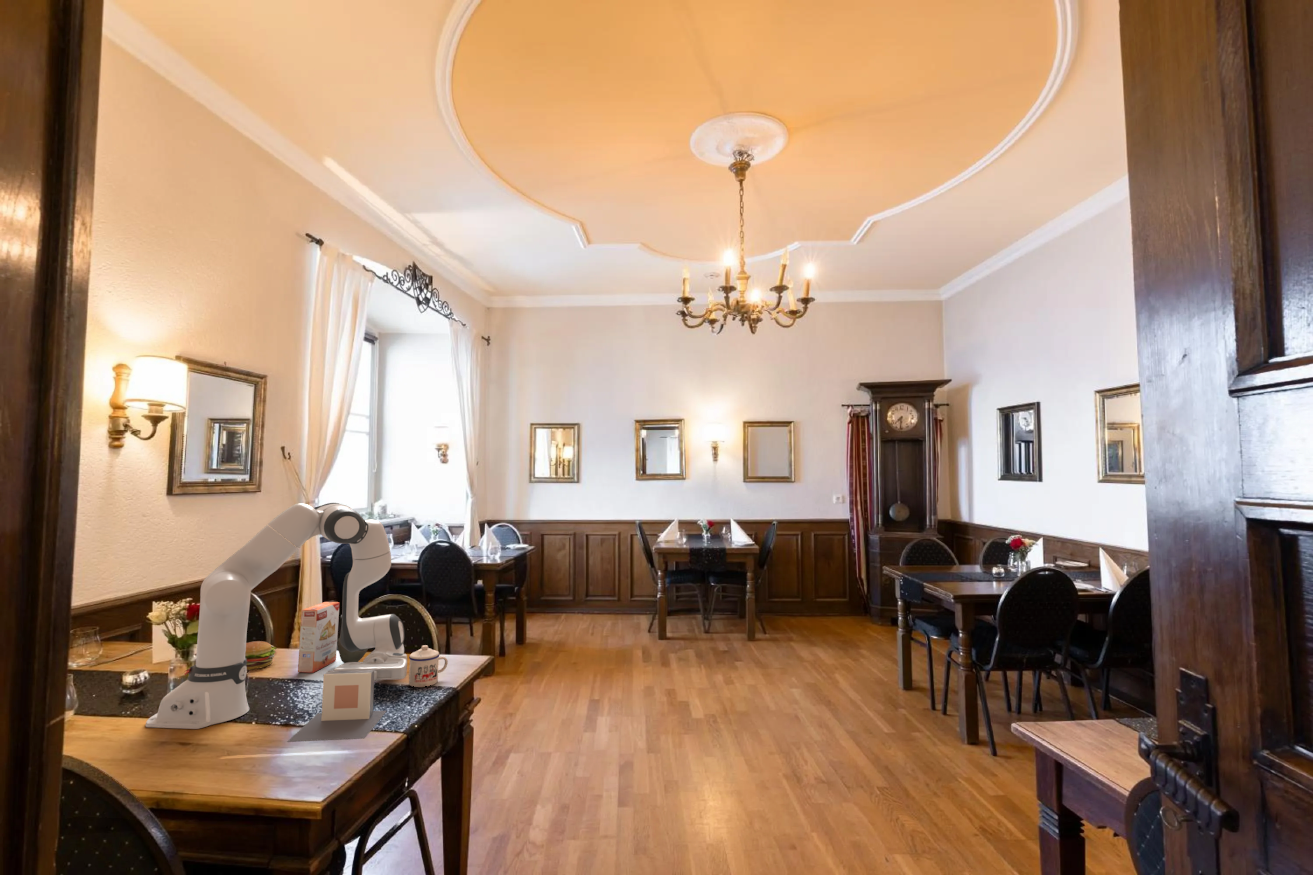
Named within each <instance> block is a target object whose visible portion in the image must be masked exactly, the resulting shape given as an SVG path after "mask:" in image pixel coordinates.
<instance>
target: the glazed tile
mask: <svg viewBox="0 0 1313 875" xmlns="http://www.w3.org/2000/svg"><path fill="white" fill-rule="evenodd" d="M374 671H375V670H349V671H334V670H328V671H327V672H325V673H324V674H323V682H322V683H323V684H322V703H321V706H322V707H321V713H322V719H321V721H329V720H354V719H369V718H370V717H371V716H372V715H373V711H374V710H373V709H374V693H375V692H374V690H375V681H374Z"/></svg>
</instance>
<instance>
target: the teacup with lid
mask: <svg viewBox="0 0 1313 875" xmlns="http://www.w3.org/2000/svg"><path fill="white" fill-rule="evenodd" d="M408 659H409V668H408V670H409V672H408V673H409V674H408V675H409V676H408V685H409V686H411V687H413V686H414V687H413V688H426V687H425V686H427V687H430V685H431V686H433V685H435V684H437V683H438V681H439V674H441V673H443V672H444V671H445V670H446V668H448V663H449V661H448V659H447V658H446V656H440V652H439V651H438V650H435V649H432V648H429V646H428V645H426V644H425V645H421V648H420V649H418V650H416V651H413V652H412V653H411V654H409V658H408ZM439 660H444V665H443V667H441V669H439Z"/></svg>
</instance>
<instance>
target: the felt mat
mask: <svg viewBox="0 0 1313 875" xmlns="http://www.w3.org/2000/svg"><path fill="white" fill-rule="evenodd" d="M386 713H387V710H373V715H372V716H371V717H370V718H369V719H354V720H329V721H321V719H322V712H319V713H317V714H315V716H313V718H311V719H310V720H309V721H308V722H307V723H306V724H304V726H302V727H301V728H300V729H299V731H297V732H296V733H295V734H294V735H292V736H291V738H289V739H288V740H287V741H286V742H287V743H291V742H292V743H293V742H295V743H296V742H312V741H313V742H314V741H335V740H338V741H339V740H357V739H358V740H359V739H360V740H361V739H366V737H367V736H368V735H369V733H370V732H372V730H373V728H374V727H375V726H376V725H377V724H378V723H379V721H380V720H381V719H382V718H383V716H384V715H385V714H386Z"/></svg>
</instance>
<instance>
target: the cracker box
mask: <svg viewBox="0 0 1313 875" xmlns="http://www.w3.org/2000/svg"><path fill="white" fill-rule="evenodd" d="M339 615H340V602H338V601H324V602H320V603H317V604H314V605H312V606H309V607H306V608H303V609H301V618H300V632H299V634H300V635H299V648H298V662H297V664H298V665H297V673H304V674H305V673H308V674H309V673H312V674H313V673H315V672H317V671H319V670H321V669H323V668H325V667H327V666H328V665H331V664H333V663H334V662H336V661H337V650H338V646H337V642H338V633H339V632H338V631H339V617H340V616H339Z"/></svg>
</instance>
